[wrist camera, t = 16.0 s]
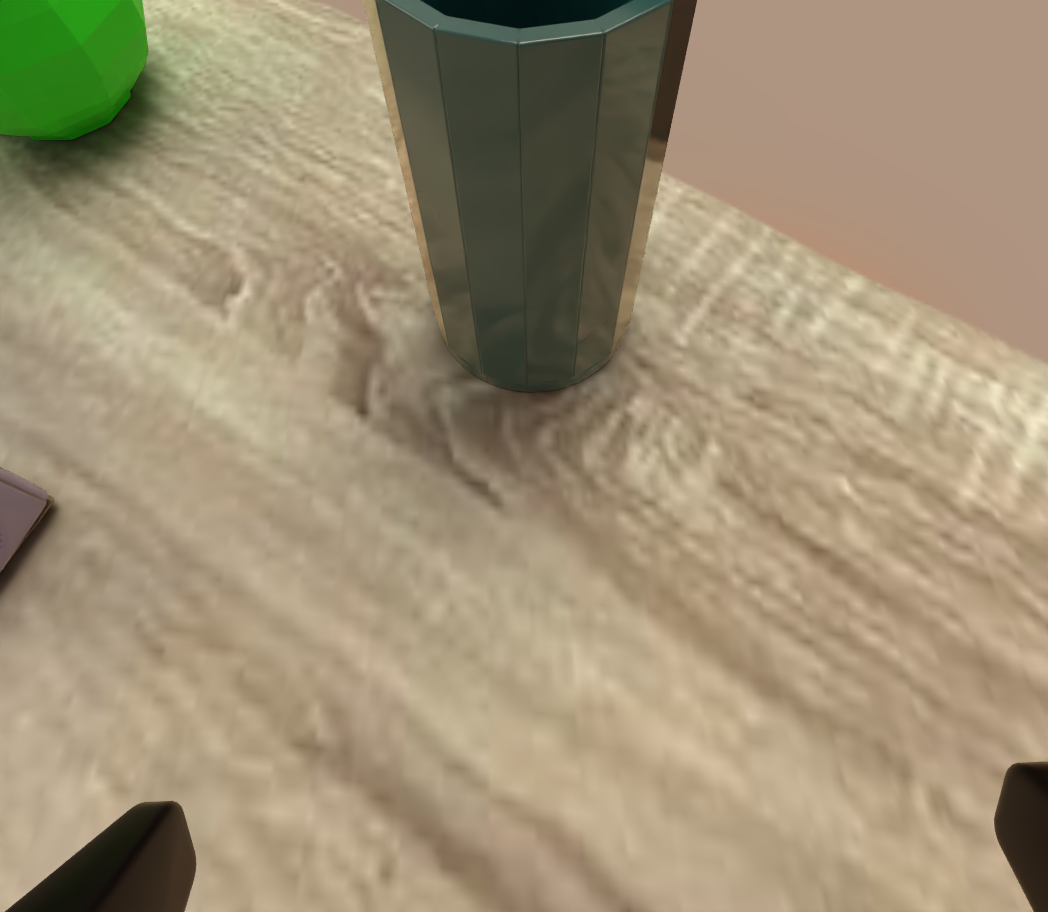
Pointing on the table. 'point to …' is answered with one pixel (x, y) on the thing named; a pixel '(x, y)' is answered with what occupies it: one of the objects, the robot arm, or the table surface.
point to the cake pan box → (18, 512)
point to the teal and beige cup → (531, 168)
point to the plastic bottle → (67, 64)
